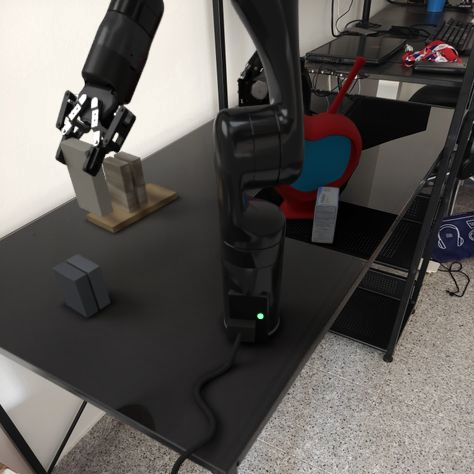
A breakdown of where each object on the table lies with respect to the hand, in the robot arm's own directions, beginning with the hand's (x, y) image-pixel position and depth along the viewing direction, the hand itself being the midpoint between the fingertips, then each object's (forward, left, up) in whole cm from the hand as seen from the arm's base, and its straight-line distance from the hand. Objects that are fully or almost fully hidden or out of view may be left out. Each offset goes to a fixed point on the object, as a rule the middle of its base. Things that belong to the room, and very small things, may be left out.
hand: (75, 168), depth 65 cm
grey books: (-6, +2, -22) cm, 23 cm away
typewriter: (+62, -31, -22) cm, 73 cm away
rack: (+29, +4, -22) cm, 36 cm away
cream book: (+1, -1, -7) cm, 8 cm away
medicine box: (+23, -40, -22) cm, 51 cm away
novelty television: (+33, -35, -22) cm, 53 cm away
